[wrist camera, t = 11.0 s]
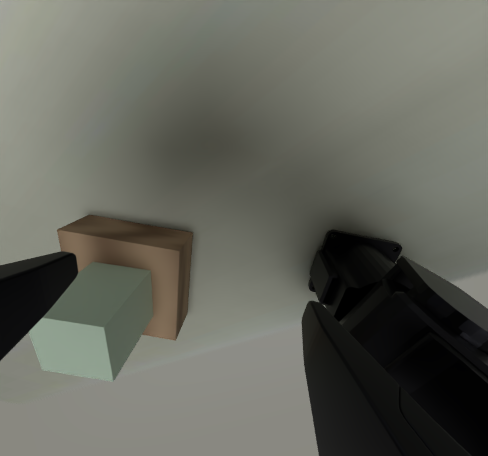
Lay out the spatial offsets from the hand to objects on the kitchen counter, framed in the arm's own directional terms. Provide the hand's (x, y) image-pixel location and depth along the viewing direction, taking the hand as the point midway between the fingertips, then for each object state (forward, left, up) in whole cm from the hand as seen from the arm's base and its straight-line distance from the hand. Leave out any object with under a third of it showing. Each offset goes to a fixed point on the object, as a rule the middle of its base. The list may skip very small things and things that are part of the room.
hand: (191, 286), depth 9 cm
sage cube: (+8, +9, -8) cm, 15 cm away
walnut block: (+8, +9, -12) cm, 17 cm away
